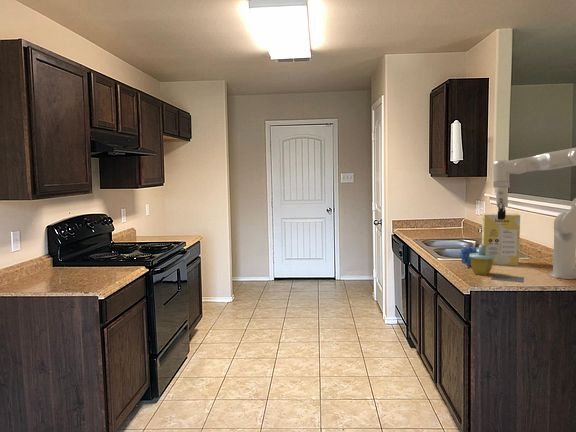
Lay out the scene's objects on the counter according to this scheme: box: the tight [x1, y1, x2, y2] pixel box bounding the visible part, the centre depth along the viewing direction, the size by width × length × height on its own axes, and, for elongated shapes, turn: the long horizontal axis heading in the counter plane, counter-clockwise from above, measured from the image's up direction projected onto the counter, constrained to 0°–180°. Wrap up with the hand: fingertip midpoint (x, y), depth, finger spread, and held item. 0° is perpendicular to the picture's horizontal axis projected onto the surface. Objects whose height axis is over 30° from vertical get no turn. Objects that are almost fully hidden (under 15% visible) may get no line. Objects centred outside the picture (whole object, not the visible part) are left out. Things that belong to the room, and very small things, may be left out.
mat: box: [490, 274, 525, 284], centre depth 231 cm, size 14×12×1 cm
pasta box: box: [481, 212, 521, 266], centre depth 270 cm, size 18×10×28 cm, turn 74°
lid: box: [469, 244, 495, 259], centre depth 241 cm, size 12×12×6 cm
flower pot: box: [470, 258, 493, 276], centre depth 242 cm, size 9×9×9 cm
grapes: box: [458, 245, 479, 268], centre depth 259 cm, size 12×7×12 cm, turn 85°
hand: (501, 218), depth 243 cm, fingers open, 9 cm apart
